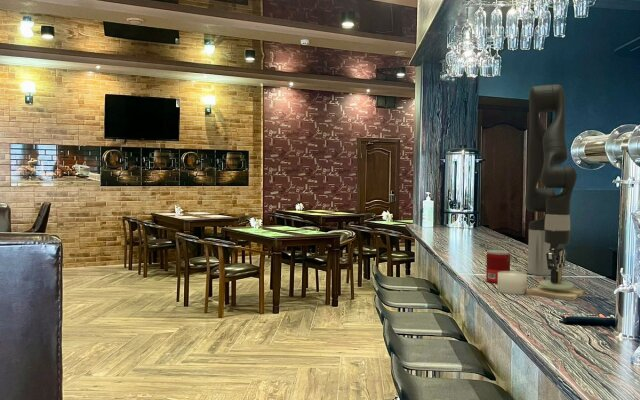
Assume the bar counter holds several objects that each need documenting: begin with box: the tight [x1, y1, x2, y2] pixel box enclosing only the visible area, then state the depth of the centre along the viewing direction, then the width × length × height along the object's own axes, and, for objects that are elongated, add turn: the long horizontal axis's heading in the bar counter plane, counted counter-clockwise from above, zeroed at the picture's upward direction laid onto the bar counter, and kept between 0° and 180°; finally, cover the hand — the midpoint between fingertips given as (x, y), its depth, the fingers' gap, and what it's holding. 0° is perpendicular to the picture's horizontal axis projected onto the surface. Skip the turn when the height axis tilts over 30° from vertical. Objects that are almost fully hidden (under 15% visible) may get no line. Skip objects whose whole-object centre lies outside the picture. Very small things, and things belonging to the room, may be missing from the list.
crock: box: [497, 270, 528, 295], centre depth 180 cm, size 9×9×6 cm
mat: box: [525, 284, 586, 301], centre depth 177 cm, size 14×14×1 cm
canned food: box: [485, 249, 511, 285], centre depth 197 cm, size 8×8×11 cm
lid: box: [538, 267, 574, 289], centre depth 177 cm, size 10×10×6 cm
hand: (556, 281), depth 177 cm, fingers closed on lid, 3 cm apart
